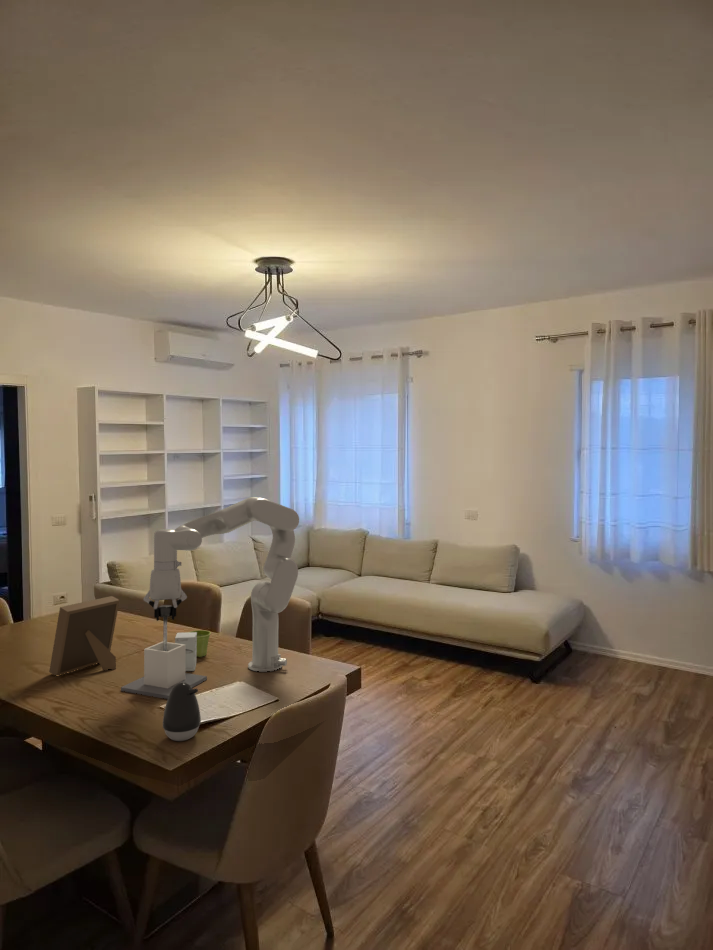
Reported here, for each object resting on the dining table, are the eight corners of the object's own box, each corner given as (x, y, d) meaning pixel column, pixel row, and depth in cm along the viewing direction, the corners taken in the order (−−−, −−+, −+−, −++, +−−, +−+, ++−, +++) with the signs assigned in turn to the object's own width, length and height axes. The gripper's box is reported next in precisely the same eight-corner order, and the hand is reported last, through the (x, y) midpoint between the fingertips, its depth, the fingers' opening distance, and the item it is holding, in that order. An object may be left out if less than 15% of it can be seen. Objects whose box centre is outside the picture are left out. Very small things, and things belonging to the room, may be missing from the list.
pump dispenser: (184, 748, 168) (184, 692, 168) (154, 740, 173) (154, 685, 172) (208, 733, 178) (209, 680, 177) (179, 726, 182) (180, 674, 182)
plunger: (180, 655, 217) (180, 605, 216) (167, 661, 210) (167, 609, 210) (163, 653, 219) (163, 603, 219) (149, 659, 213) (150, 607, 212)
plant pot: (196, 660, 241) (196, 638, 241) (181, 655, 247) (181, 633, 247) (215, 654, 249) (215, 632, 249) (200, 650, 254) (200, 628, 254)
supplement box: (174, 672, 228) (174, 637, 228) (176, 665, 235) (176, 632, 235) (195, 671, 229) (195, 636, 229) (196, 664, 236) (197, 631, 236)
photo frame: (49, 674, 223) (50, 604, 223) (101, 658, 242) (102, 594, 242) (76, 683, 216) (76, 610, 215) (127, 665, 235) (128, 599, 234)
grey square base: (206, 679, 221) (207, 642, 220) (170, 699, 202) (170, 658, 202) (160, 672, 228) (160, 635, 227) (120, 690, 209) (120, 651, 209)
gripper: (190, 563, 220) (190, 615, 221) (139, 565, 215) (139, 618, 215) (191, 566, 213) (191, 620, 213) (139, 568, 207) (139, 623, 208)
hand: (165, 618), depth 214 cm, fingers closed on plunger, 4 cm apart
